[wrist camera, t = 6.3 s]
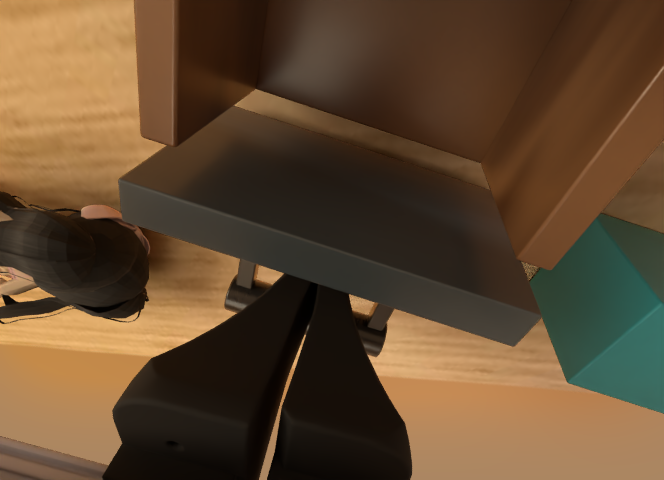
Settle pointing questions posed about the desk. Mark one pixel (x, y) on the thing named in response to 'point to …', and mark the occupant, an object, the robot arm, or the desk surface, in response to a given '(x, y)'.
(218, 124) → the drawer
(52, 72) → the desk surface
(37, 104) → the desk surface
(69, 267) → the toy figure
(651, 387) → the teal rectangular block
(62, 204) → the desk surface
